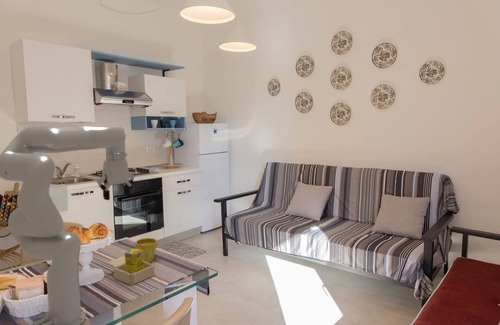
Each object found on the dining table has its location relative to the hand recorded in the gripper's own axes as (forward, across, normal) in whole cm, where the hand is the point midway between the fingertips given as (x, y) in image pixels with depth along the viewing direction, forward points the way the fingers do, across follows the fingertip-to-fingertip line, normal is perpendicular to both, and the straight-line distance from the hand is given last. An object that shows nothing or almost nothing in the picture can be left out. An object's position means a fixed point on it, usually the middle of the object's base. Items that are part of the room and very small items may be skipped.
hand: (117, 197), depth 146 cm
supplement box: (+36, -6, +2) cm, 37 cm away
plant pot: (+36, -21, -8) cm, 43 cm away
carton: (+36, -6, +2) cm, 37 cm away
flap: (+31, -6, -7) cm, 33 cm away
